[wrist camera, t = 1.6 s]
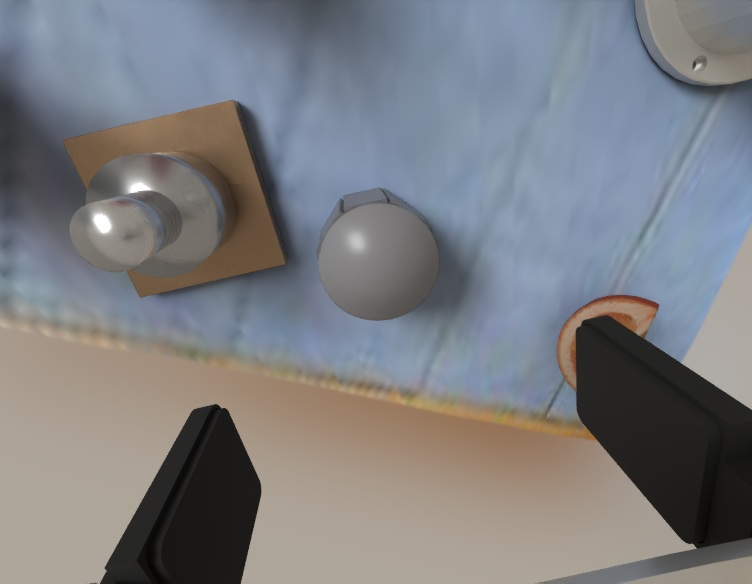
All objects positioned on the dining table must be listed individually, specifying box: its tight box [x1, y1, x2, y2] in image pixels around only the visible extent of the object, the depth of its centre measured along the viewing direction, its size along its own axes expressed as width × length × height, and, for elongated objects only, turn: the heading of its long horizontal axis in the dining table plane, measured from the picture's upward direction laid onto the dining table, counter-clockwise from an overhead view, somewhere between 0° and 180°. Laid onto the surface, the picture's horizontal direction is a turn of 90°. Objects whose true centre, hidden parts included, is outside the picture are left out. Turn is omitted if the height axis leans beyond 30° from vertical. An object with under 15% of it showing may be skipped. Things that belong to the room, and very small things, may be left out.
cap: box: [317, 188, 439, 321], centre depth 24 cm, size 7×7×6 cm
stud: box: [62, 100, 288, 297], centre depth 20 cm, size 10×10×9 cm
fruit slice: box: [557, 295, 659, 391], centre depth 28 cm, size 8×7×5 cm
